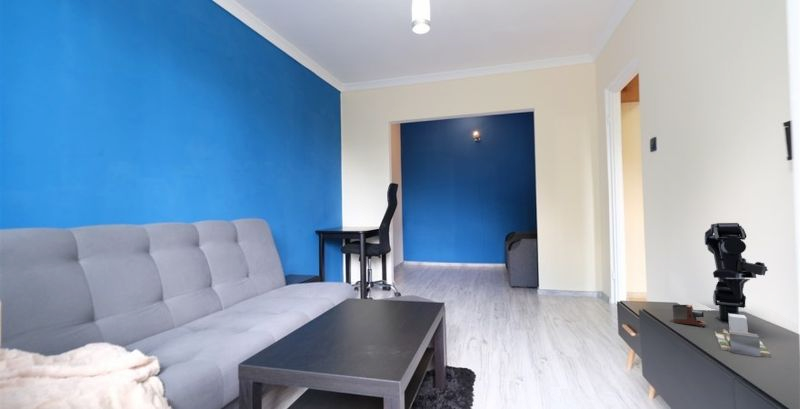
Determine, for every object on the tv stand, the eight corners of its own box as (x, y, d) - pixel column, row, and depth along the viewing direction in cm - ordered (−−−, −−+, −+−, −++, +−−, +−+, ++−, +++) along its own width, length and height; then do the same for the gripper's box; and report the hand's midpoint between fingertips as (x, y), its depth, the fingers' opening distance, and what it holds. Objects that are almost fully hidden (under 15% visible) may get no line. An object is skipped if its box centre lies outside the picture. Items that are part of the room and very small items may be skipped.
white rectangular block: (715, 334, 119) (713, 311, 119) (746, 338, 114) (744, 315, 114) (716, 337, 116) (715, 314, 116) (748, 342, 111) (746, 318, 111)
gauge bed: (714, 334, 122) (713, 317, 122) (758, 340, 115) (756, 322, 115) (722, 350, 108) (720, 332, 108) (771, 358, 102) (770, 338, 102)
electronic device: (705, 328, 128) (703, 308, 128) (673, 323, 135) (671, 304, 135) (705, 325, 131) (704, 306, 132) (674, 320, 138) (673, 302, 138)
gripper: (749, 253, 115) (759, 300, 112) (770, 255, 123) (780, 298, 120) (709, 255, 125) (716, 298, 122) (731, 256, 133) (739, 296, 130)
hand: (739, 298), depth 123 cm, fingers closed
